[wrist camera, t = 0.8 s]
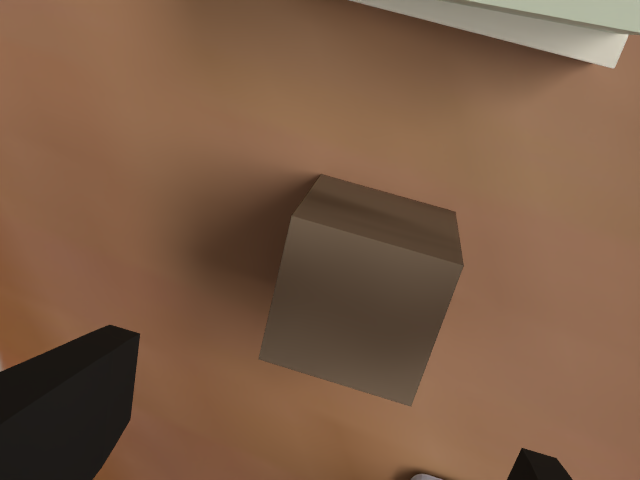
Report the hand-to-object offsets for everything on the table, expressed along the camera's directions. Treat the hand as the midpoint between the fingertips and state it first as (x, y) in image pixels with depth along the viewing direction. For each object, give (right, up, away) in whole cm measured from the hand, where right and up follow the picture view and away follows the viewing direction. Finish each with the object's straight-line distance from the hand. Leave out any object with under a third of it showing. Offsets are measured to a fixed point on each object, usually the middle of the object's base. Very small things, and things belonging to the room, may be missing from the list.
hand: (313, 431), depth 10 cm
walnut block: (+2, +3, +9) cm, 10 cm away
